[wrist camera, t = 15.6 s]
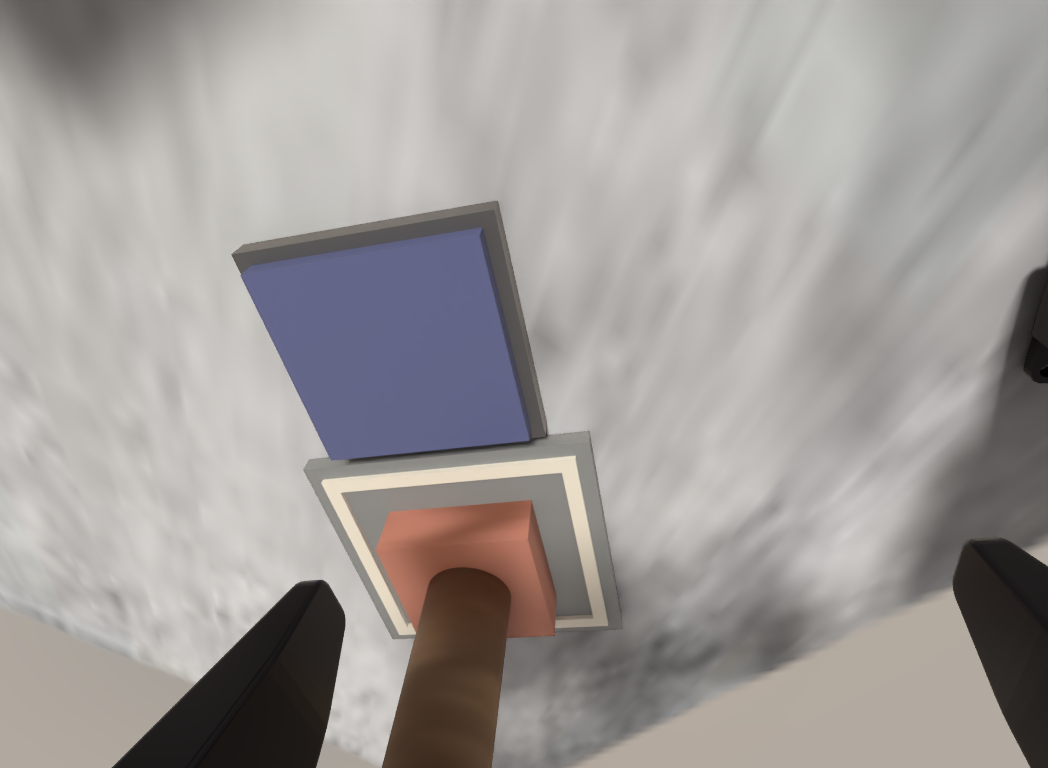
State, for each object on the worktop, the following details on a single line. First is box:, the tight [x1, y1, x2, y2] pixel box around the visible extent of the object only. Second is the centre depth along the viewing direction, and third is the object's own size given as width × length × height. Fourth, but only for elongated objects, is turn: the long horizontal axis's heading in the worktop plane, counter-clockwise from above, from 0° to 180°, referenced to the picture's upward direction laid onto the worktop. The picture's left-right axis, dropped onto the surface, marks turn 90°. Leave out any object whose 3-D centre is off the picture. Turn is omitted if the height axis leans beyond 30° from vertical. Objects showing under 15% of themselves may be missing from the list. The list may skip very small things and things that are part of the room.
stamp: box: [376, 500, 557, 768], centre depth 22 cm, size 6×6×10 cm
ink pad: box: [231, 201, 547, 461], centre depth 20 cm, size 8×8×2 cm
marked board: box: [304, 432, 622, 639], centre depth 26 cm, size 11×11×1 cm
